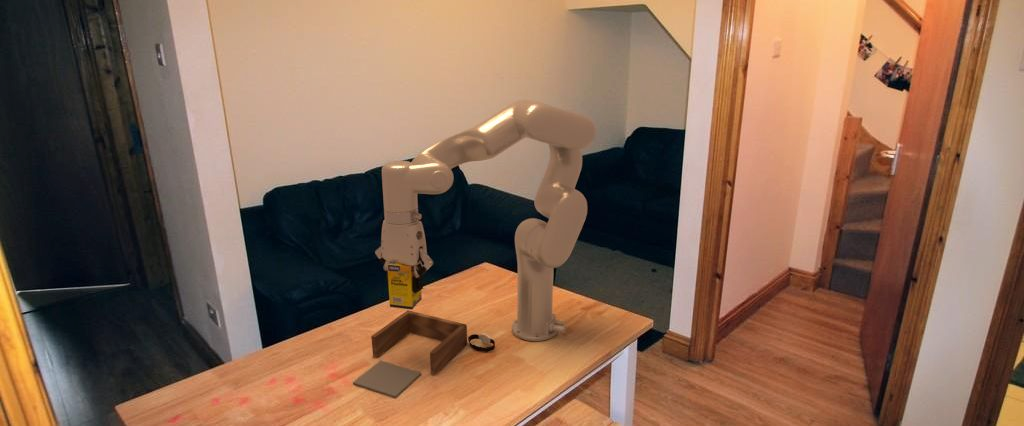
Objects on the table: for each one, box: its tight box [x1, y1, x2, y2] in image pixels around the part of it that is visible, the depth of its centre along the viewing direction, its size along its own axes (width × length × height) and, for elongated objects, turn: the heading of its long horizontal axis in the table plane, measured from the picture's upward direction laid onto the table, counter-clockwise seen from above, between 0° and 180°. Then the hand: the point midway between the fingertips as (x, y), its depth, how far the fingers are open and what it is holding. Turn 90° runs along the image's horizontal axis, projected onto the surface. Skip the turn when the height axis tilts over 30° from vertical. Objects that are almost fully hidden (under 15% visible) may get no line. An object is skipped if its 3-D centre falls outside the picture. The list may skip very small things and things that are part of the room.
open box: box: [371, 309, 468, 377], centre depth 136 cm, size 18×15×6 cm
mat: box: [352, 360, 422, 399], centre depth 125 cm, size 12×10×1 cm
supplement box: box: [387, 262, 423, 311], centre depth 126 cm, size 6×6×11 cm
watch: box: [467, 332, 496, 353], centre depth 138 cm, size 8×5×4 cm, turn 61°
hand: (405, 287), depth 127 cm, fingers closed on supplement box, 6 cm apart
